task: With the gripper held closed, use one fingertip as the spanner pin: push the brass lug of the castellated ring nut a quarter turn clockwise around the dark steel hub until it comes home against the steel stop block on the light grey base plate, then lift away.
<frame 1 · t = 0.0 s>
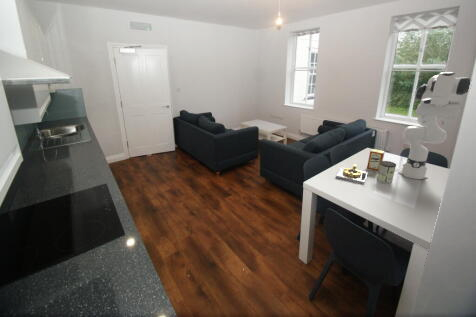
hand: (432, 123, 143), 48 cm above the table, fingers open, 8 cm apart
baking soda box: (373, 168, 198), on the table
ring nut: (353, 170, 185), point 4 cm above the table, hinge at 90.0°
base plate: (351, 176, 185), on the table
coffee can: (384, 180, 177), on the table
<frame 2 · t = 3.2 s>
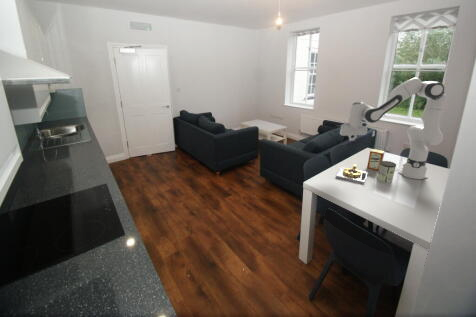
hand: (351, 140, 184), 27 cm above the table, fingers closed
nothing on the table moved.
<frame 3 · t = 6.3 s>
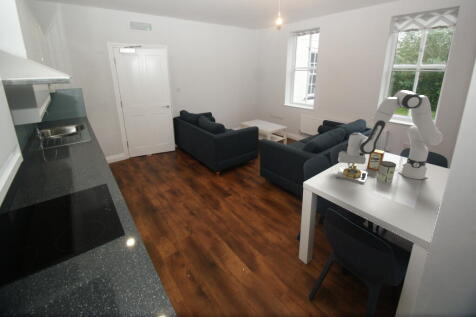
hand: (350, 167, 192), 3 cm above the table, fingers closed
ring nut: (353, 170, 185), point 4 cm above the table, hinge at 90.0°, touching gripper
everything else where it was.
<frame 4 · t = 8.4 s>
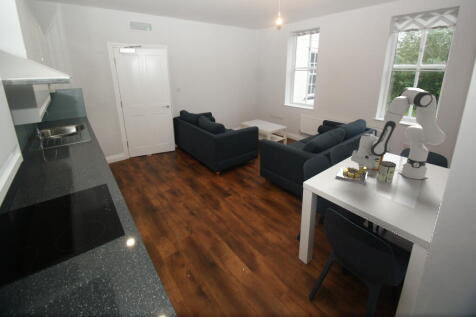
hand: (360, 169, 187), 4 cm above the table, fingers closed
ring nut: (355, 171, 184), point 4 cm above the table, hinge at 43.4°, touching gripper
everything else where it was.
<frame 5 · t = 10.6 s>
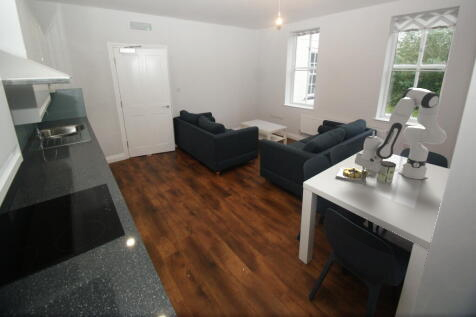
hand: (365, 172, 182), 4 cm above the table, fingers closed
ring nut: (355, 171, 182), point 4 cm above the table, hinge at 0.0°
everything else where it was.
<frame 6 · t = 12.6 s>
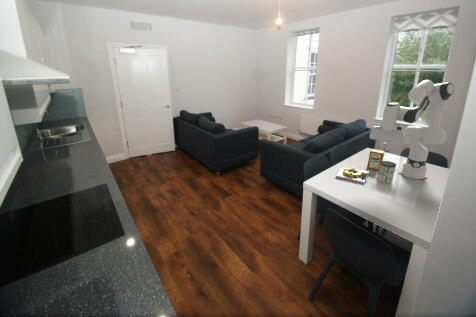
hand: (384, 145, 166), 29 cm above the table, fingers closed
nothing on the table moved.
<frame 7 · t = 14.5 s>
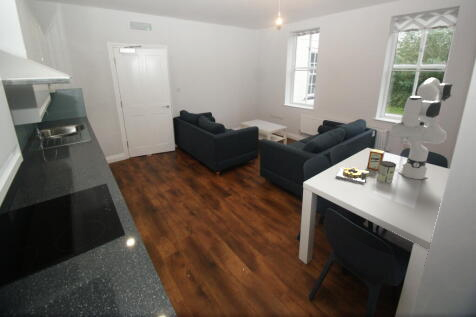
hand: (404, 142, 153), 34 cm above the table, fingers closed
nothing on the table moved.
at the end: ring nut at +0° (first picture: +90°) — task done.
